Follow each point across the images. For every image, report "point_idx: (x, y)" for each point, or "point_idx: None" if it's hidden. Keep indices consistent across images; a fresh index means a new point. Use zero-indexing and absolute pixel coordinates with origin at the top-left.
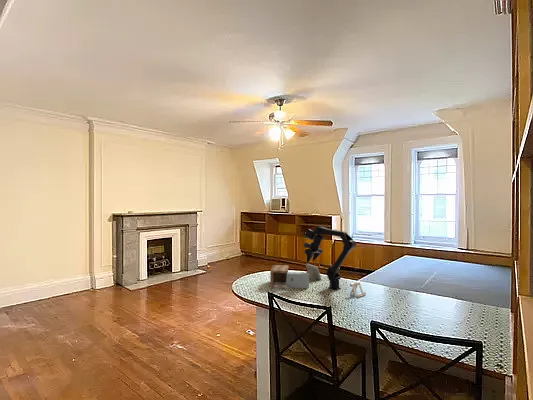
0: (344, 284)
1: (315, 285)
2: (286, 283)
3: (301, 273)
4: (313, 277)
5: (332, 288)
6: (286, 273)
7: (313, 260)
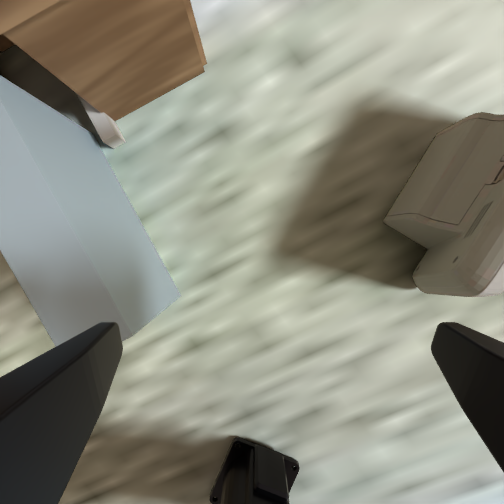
0: (408, 497)
1: (242, 324)
2: (91, 117)
3: (50, 264)
4: (407, 230)
5: (223, 480)
6: (31, 51)
7: (440, 350)
